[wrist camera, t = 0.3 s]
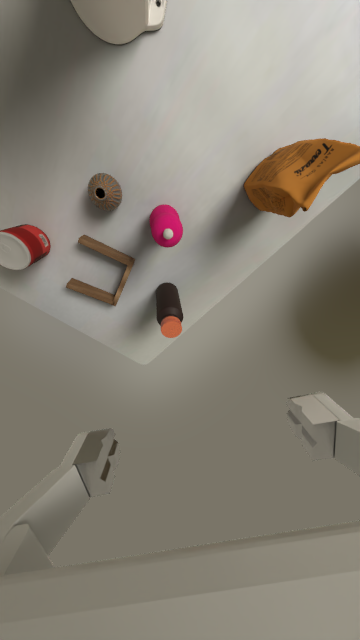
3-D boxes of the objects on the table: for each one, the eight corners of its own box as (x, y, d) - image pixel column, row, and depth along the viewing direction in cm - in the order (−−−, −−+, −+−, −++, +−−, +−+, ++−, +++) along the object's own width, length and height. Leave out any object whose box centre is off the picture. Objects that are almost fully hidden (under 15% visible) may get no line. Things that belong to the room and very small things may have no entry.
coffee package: (300, 179, 49) (386, 173, 30) (256, 216, 52) (310, 231, 34) (284, 137, 44) (376, 102, 26) (238, 181, 48) (289, 177, 29)
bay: (84, 234, 50) (79, 237, 47) (134, 259, 55) (133, 263, 52) (71, 281, 57) (66, 287, 54) (117, 299, 62) (115, 306, 58)
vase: (129, 199, 47) (125, 201, 40) (106, 214, 49) (98, 219, 41) (111, 167, 44) (102, 163, 36) (86, 185, 45) (73, 184, 38)
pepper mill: (161, 240, 53) (164, 263, 37) (143, 216, 50) (138, 230, 33) (183, 223, 51) (196, 239, 35) (166, 196, 48) (172, 201, 31)
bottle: (154, 299, 63) (154, 338, 46) (158, 280, 59) (160, 315, 43) (174, 303, 64) (181, 342, 48) (180, 284, 61) (189, 320, 45)
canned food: (21, 216, 47) (-11, 223, 38) (56, 238, 50) (34, 249, 41) (12, 243, 50) (-20, 255, 41) (45, 262, 53) (23, 277, 44)
